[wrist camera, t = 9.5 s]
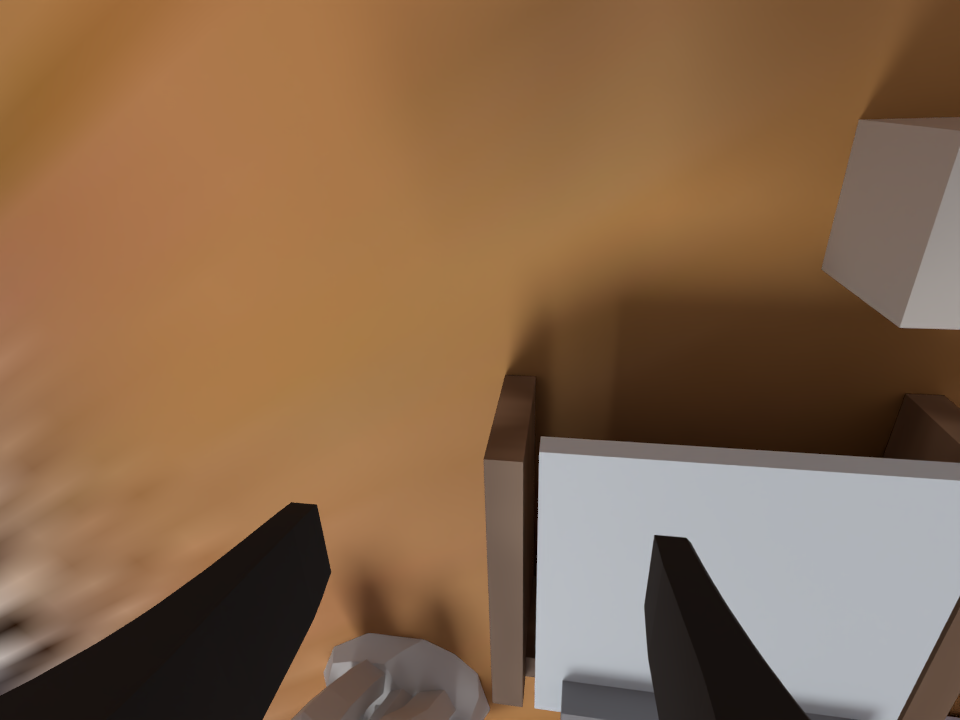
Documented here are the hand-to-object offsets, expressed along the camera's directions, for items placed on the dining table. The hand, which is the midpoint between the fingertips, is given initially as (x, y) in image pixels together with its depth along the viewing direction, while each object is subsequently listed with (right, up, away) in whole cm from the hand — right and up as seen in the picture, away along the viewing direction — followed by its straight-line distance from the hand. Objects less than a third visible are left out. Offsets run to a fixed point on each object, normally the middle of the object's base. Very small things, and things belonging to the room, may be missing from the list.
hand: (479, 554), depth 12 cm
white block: (+13, +9, +5) cm, 17 cm away
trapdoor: (+8, -4, +6) cm, 11 cm away
